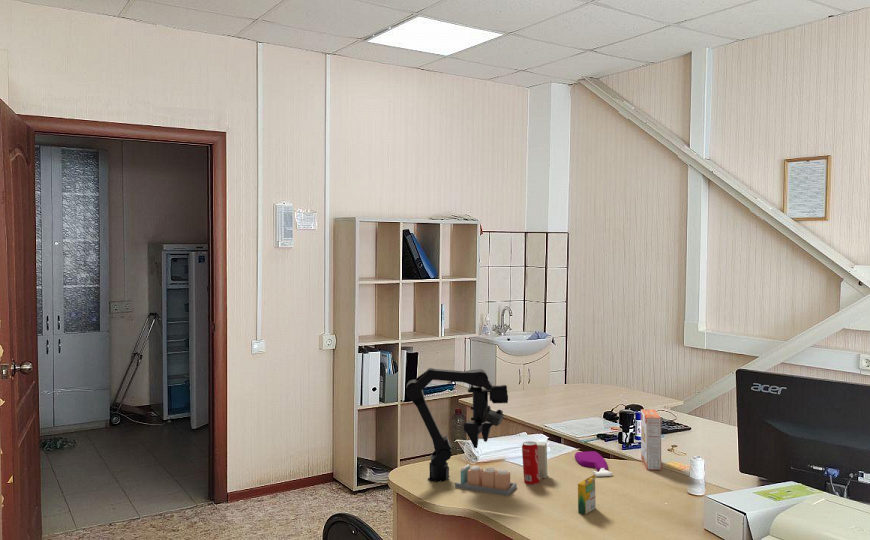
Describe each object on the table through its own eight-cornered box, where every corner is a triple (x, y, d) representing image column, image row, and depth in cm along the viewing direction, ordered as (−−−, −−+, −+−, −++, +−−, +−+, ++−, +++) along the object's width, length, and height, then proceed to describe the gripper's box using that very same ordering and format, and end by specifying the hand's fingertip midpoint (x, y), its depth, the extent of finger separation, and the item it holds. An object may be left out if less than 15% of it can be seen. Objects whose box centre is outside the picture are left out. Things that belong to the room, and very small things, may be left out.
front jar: (494, 491, 248) (494, 472, 247) (498, 487, 251) (498, 468, 251) (506, 492, 246) (506, 473, 245) (510, 488, 250) (510, 470, 249)
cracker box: (640, 459, 284) (640, 408, 284) (655, 459, 284) (655, 409, 283) (645, 470, 271) (645, 417, 270) (661, 470, 270) (661, 417, 269)
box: (547, 475, 265) (547, 442, 265) (545, 479, 261) (545, 445, 260) (534, 474, 267) (533, 441, 266) (531, 478, 263) (531, 444, 262)
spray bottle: (598, 457, 288) (618, 478, 264) (572, 458, 287) (590, 479, 263) (598, 450, 288) (618, 470, 264) (572, 451, 287) (590, 471, 263)
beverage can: (539, 486, 253) (539, 445, 253) (521, 485, 255) (521, 444, 254) (540, 480, 259) (540, 441, 259) (522, 479, 261) (522, 440, 260)
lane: (455, 488, 252) (455, 483, 252) (464, 481, 260) (464, 475, 260) (508, 496, 243) (508, 491, 243) (516, 488, 251) (516, 483, 251)
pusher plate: (460, 484, 252) (460, 468, 252) (467, 479, 258) (467, 463, 258) (463, 485, 252) (463, 469, 251) (470, 479, 257) (469, 464, 257)
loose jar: (478, 488, 250) (478, 470, 250) (467, 486, 252) (467, 468, 252) (483, 484, 254) (483, 466, 254) (472, 483, 256) (472, 464, 256)
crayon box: (587, 506, 234) (587, 472, 233) (596, 508, 232) (595, 474, 231) (577, 512, 228) (577, 477, 228) (585, 515, 226) (585, 479, 226)
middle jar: (482, 489, 250) (482, 470, 249) (486, 485, 254) (486, 466, 253) (493, 490, 248) (493, 472, 247) (498, 487, 252) (497, 468, 251)
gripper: (490, 411, 249) (490, 454, 250) (509, 400, 266) (509, 440, 266) (462, 408, 254) (462, 450, 255) (482, 397, 271) (483, 437, 271)
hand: (480, 444), depth 262 cm, fingers open, 9 cm apart
